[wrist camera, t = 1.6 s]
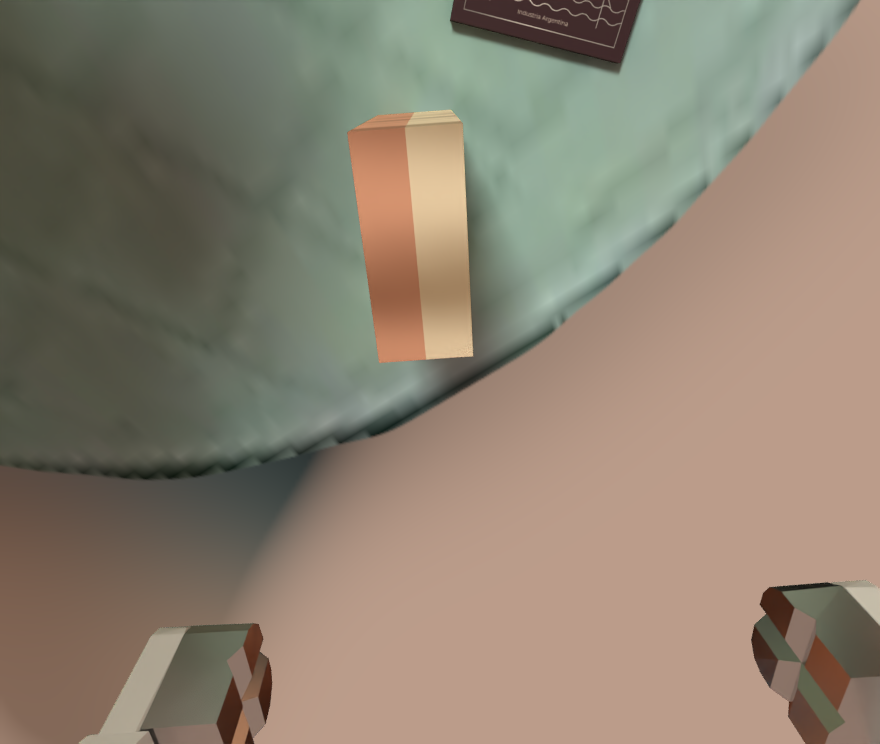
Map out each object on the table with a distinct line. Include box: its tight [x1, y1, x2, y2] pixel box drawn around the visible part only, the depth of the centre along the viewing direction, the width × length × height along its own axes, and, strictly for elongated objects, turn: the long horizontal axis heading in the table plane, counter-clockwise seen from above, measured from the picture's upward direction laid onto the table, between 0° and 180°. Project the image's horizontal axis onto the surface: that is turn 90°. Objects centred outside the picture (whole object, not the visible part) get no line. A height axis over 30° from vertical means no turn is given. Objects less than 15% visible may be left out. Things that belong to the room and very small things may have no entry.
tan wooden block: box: [347, 110, 473, 363], centre depth 26 cm, size 9×4×12 cm, turn 4°
